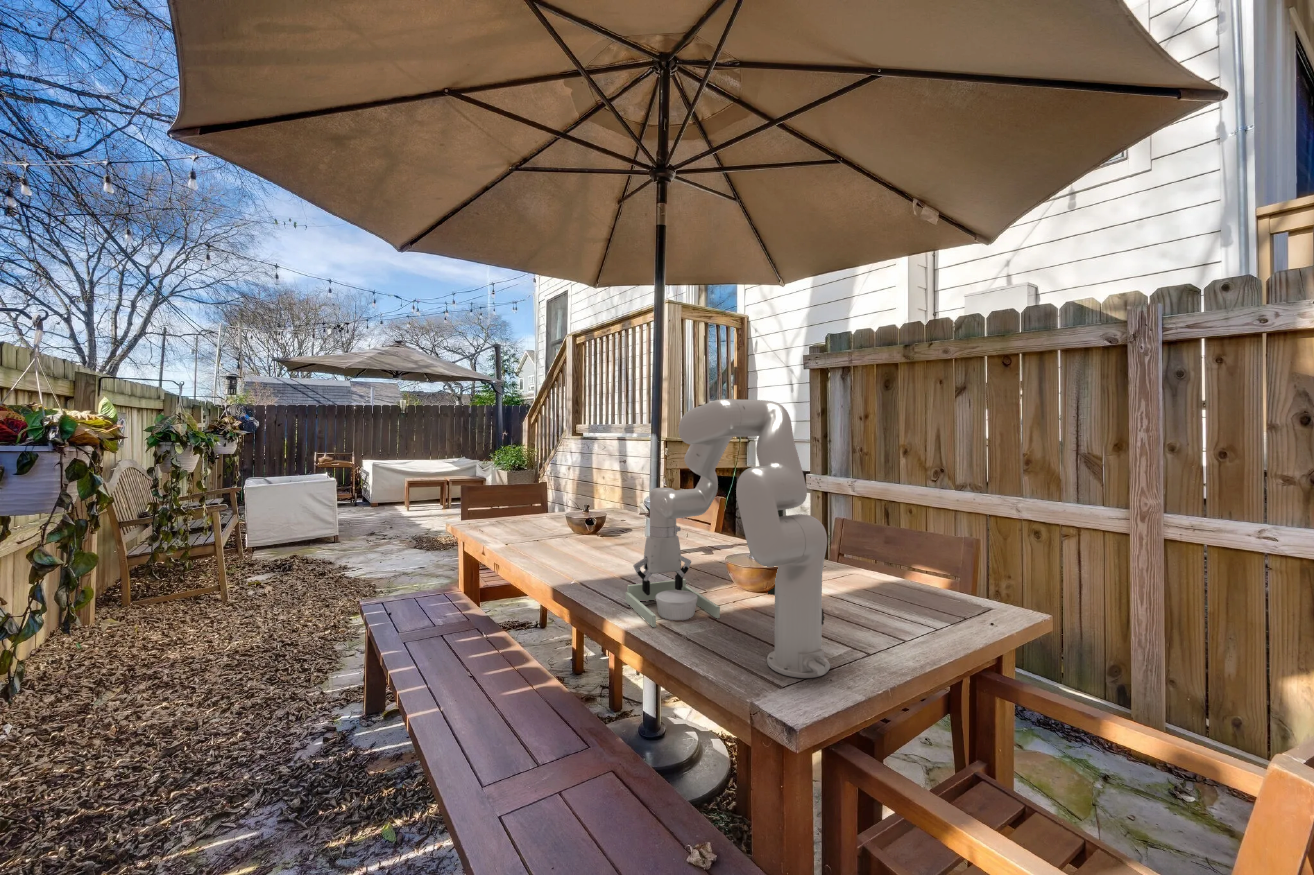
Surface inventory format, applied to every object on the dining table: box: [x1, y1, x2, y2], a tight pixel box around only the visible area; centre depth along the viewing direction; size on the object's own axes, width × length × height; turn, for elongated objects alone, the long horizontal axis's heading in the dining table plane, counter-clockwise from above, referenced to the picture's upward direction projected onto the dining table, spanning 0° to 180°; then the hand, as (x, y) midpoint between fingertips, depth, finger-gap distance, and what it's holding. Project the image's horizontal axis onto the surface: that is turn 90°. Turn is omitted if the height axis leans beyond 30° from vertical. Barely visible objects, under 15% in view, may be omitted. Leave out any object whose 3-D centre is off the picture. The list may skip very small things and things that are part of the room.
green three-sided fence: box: [625, 578, 721, 628], centre depth 150 cm, size 21×19×5 cm
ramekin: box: [655, 590, 698, 621], centre depth 146 cm, size 11×11×5 cm
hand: (662, 592), depth 155 cm, fingers open, 9 cm apart
